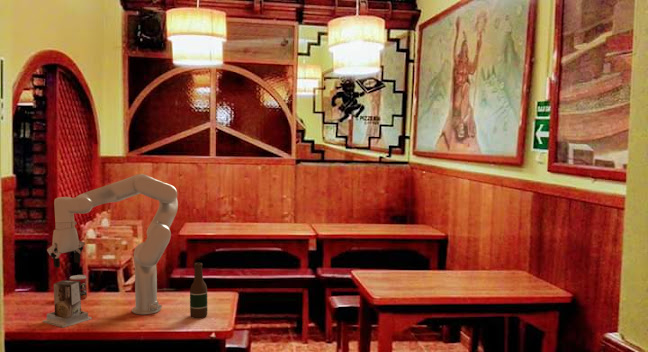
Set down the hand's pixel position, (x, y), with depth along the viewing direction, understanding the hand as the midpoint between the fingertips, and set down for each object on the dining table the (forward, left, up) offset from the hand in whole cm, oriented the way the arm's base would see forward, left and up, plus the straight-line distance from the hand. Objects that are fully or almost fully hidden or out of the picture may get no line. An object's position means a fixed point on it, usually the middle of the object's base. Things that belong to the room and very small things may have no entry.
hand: (67, 264), depth 252 cm
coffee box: (0, 0, -24) cm, 24 cm away
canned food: (+26, -24, -25) cm, 43 cm away
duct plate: (0, 0, -25) cm, 25 cm away
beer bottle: (-44, -35, -25) cm, 61 cm away
